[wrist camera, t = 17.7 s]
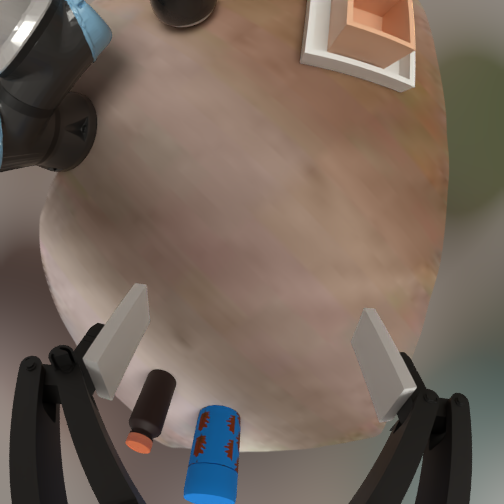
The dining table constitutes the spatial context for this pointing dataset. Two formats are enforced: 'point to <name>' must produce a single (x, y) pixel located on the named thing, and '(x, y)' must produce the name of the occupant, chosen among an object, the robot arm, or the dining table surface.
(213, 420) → the thermos
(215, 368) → the dining table surface
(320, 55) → the white tray
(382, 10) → the terracotta crate
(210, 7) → the pump dispenser
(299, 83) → the dining table surface
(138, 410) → the bottle
